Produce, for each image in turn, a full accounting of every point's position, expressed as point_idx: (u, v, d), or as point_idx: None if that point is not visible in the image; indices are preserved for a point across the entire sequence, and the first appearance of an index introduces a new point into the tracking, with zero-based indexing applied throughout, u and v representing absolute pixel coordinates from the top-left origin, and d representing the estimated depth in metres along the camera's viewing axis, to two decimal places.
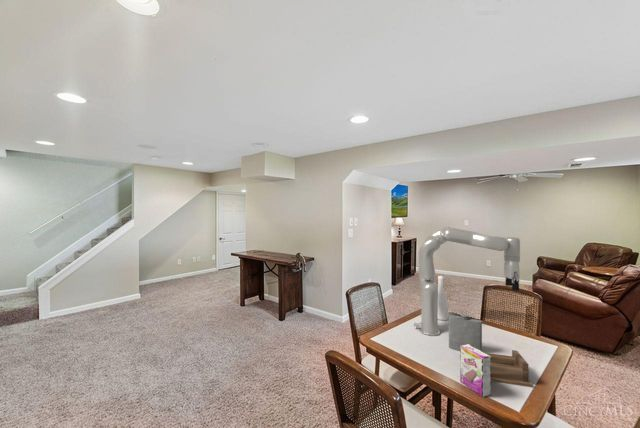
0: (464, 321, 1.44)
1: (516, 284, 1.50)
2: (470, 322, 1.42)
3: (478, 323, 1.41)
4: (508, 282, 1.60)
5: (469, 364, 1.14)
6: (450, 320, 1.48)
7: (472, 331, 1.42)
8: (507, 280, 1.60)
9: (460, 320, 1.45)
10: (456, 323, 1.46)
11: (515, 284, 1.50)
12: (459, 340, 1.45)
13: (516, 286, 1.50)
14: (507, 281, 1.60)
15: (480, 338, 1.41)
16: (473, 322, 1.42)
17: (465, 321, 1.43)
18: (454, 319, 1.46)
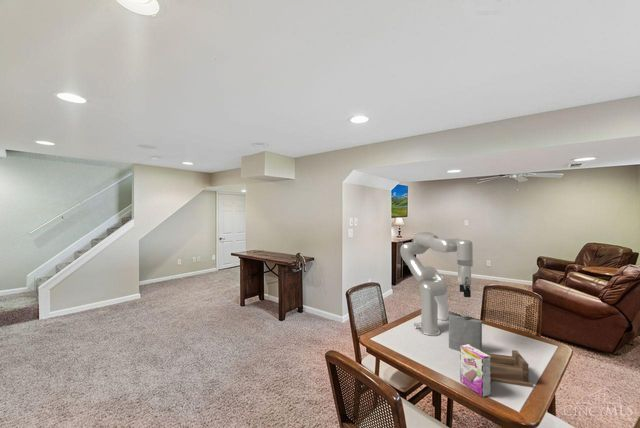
0: (464, 321, 1.44)
1: (467, 291, 1.39)
2: (470, 322, 1.42)
3: (478, 323, 1.41)
4: (462, 288, 1.49)
5: (469, 364, 1.14)
6: (450, 320, 1.48)
7: (472, 331, 1.42)
8: (461, 286, 1.49)
9: (460, 320, 1.45)
10: (456, 323, 1.46)
11: (466, 291, 1.39)
12: (459, 340, 1.45)
13: (467, 293, 1.39)
14: (461, 287, 1.49)
15: (480, 338, 1.41)
16: (473, 322, 1.42)
17: (465, 321, 1.43)
18: (454, 319, 1.46)
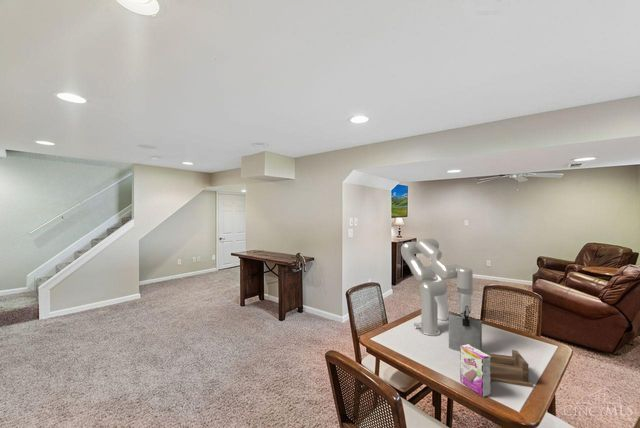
0: None
1: (466, 320, 1.42)
2: (470, 322, 1.42)
3: (478, 323, 1.41)
4: None
5: (469, 364, 1.14)
6: (450, 320, 1.48)
7: (472, 331, 1.42)
8: None
9: (460, 320, 1.45)
10: (456, 323, 1.46)
11: (465, 320, 1.42)
12: (459, 339, 1.45)
13: (466, 322, 1.42)
14: None
15: (480, 338, 1.41)
16: (473, 322, 1.42)
17: None
18: (454, 319, 1.46)
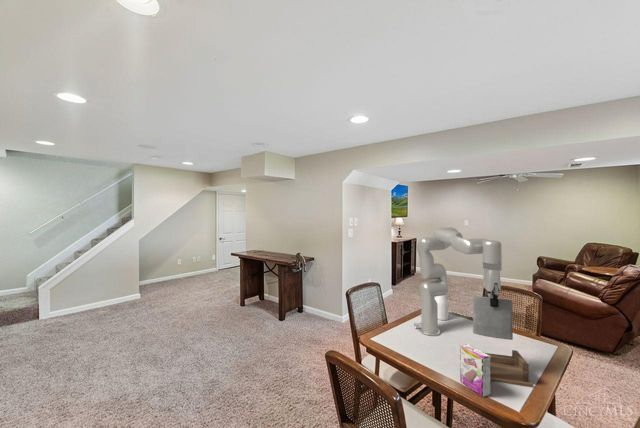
0: None
1: (495, 299, 1.23)
2: (499, 302, 1.24)
3: (508, 303, 1.23)
4: None
5: (469, 364, 1.14)
6: (475, 301, 1.29)
7: (501, 312, 1.24)
8: None
9: (487, 300, 1.26)
10: (483, 305, 1.27)
11: (494, 299, 1.23)
12: (486, 323, 1.26)
13: (495, 302, 1.23)
14: None
15: (511, 320, 1.23)
16: (503, 302, 1.23)
17: None
18: (480, 300, 1.27)
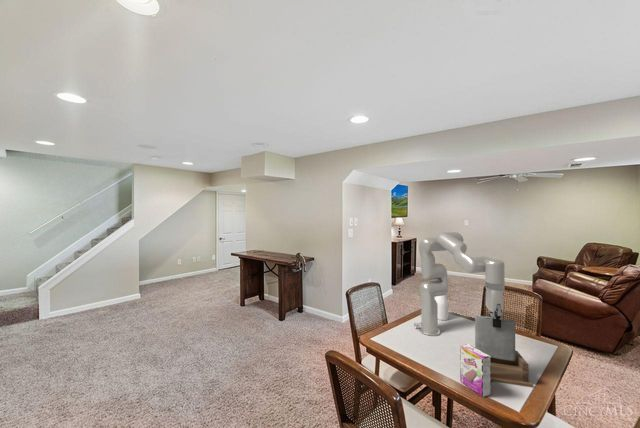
0: None
1: (497, 320, 1.22)
2: (502, 323, 1.22)
3: (511, 323, 1.21)
4: None
5: (469, 364, 1.14)
6: (477, 321, 1.27)
7: (504, 333, 1.22)
8: None
9: (490, 321, 1.24)
10: (485, 325, 1.25)
11: (496, 320, 1.22)
12: (489, 343, 1.25)
13: (497, 323, 1.22)
14: None
15: (514, 341, 1.21)
16: (505, 322, 1.22)
17: None
18: (482, 320, 1.26)
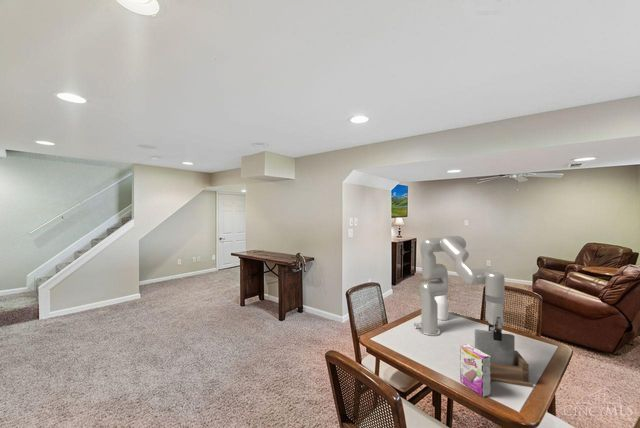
0: None
1: (498, 333, 1.21)
2: (502, 337, 1.23)
3: (511, 338, 1.22)
4: None
5: (469, 364, 1.14)
6: (477, 335, 1.27)
7: (504, 348, 1.23)
8: None
9: (490, 335, 1.25)
10: (485, 339, 1.25)
11: (497, 333, 1.21)
12: None
13: (498, 336, 1.21)
14: None
15: (513, 355, 1.22)
16: (505, 337, 1.22)
17: None
18: (482, 334, 1.26)
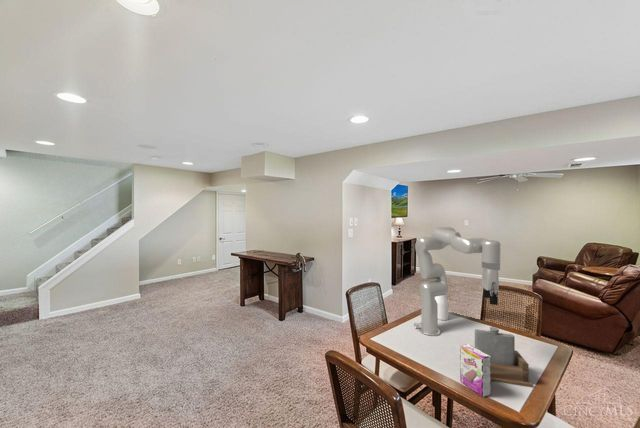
0: (494, 336, 1.24)
1: (494, 297, 1.24)
2: (502, 337, 1.23)
3: (511, 338, 1.22)
4: (487, 294, 1.34)
5: (469, 364, 1.14)
6: (477, 335, 1.27)
7: (504, 348, 1.23)
8: (485, 291, 1.34)
9: (490, 335, 1.25)
10: (485, 339, 1.26)
11: (493, 297, 1.24)
12: None
13: (494, 300, 1.24)
14: (485, 292, 1.34)
15: (513, 355, 1.22)
16: (505, 337, 1.22)
17: (496, 336, 1.24)
18: (482, 334, 1.26)
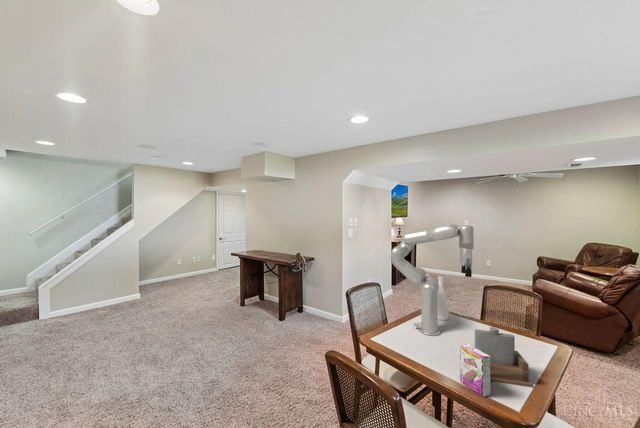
0: (494, 336, 1.24)
1: (469, 271, 1.53)
2: (502, 337, 1.23)
3: (511, 338, 1.22)
4: (464, 270, 1.63)
5: (469, 364, 1.14)
6: (477, 335, 1.27)
7: (504, 348, 1.23)
8: (463, 268, 1.63)
9: (490, 335, 1.25)
10: (485, 339, 1.26)
11: (468, 271, 1.53)
12: None
13: (469, 273, 1.53)
14: (463, 269, 1.63)
15: (513, 355, 1.22)
16: (505, 337, 1.22)
17: (496, 336, 1.24)
18: (482, 334, 1.26)
